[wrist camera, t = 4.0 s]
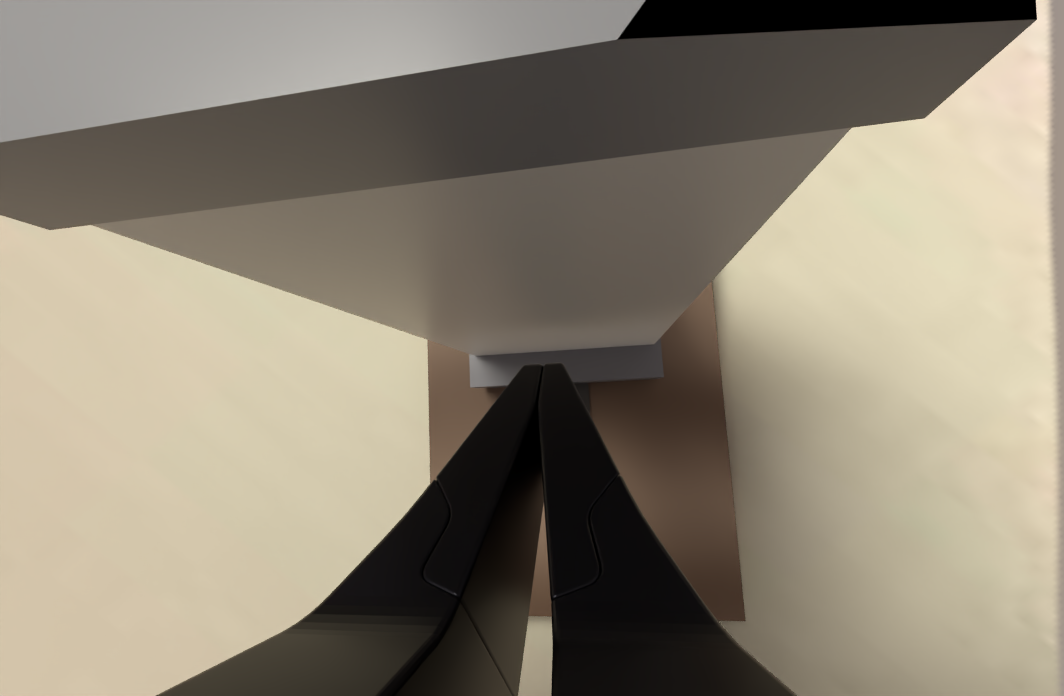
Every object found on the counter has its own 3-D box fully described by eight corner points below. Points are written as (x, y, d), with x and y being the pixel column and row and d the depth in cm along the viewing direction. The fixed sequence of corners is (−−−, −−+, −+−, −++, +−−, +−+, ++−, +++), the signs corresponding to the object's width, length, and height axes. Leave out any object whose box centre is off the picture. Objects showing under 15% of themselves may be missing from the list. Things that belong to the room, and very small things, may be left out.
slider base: (734, 603, 15) (784, 682, 11) (445, 598, 16) (391, 664, 12) (667, -83, 18) (686, -226, 14) (431, -35, 20) (384, -151, 15)
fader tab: (665, 378, 15) (1164, 205, 2) (474, 388, 16) (-177, 332, 3) (653, 230, 15) (941, -759, 2) (470, 249, 16) (-74, -366, 3)
